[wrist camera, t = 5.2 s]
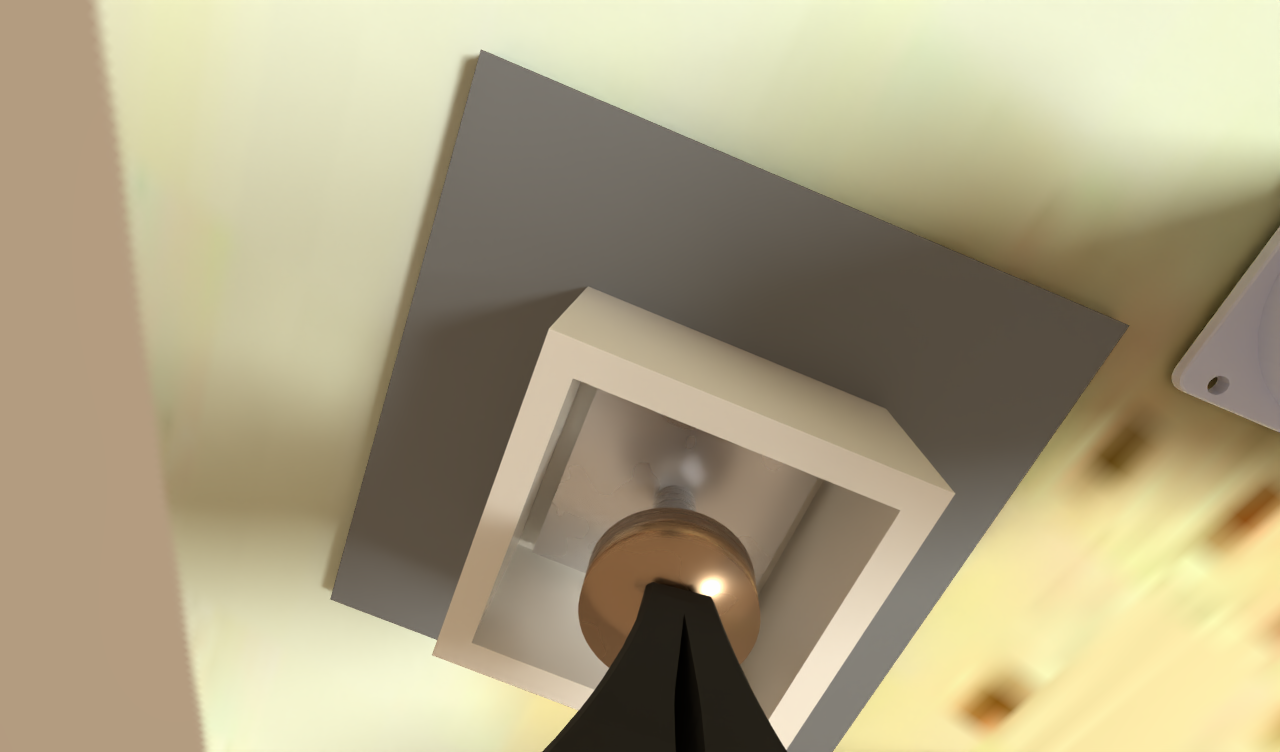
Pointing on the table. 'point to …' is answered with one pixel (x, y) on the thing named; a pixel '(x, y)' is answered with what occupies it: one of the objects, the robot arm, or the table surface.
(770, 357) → the mat
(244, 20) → the table surface
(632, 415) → the plunger
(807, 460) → the press
